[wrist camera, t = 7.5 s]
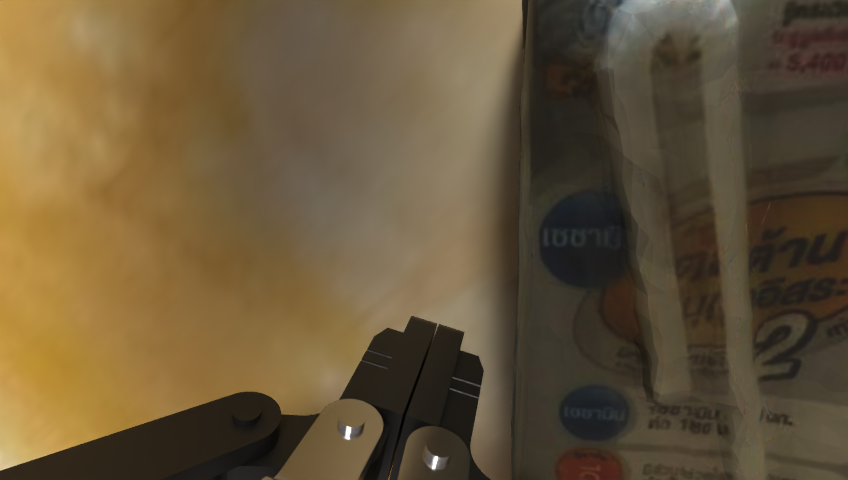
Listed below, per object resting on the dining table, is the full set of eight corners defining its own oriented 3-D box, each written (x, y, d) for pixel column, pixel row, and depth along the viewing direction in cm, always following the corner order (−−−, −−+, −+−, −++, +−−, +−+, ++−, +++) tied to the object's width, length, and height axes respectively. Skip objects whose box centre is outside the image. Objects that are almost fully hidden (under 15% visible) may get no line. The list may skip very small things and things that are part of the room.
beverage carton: (897, -51, 11) (1294, -126, 5) (735, 550, 19) (822, 799, 13) (524, -22, 13) (504, -54, 7) (514, 516, 20) (499, 720, 14)
